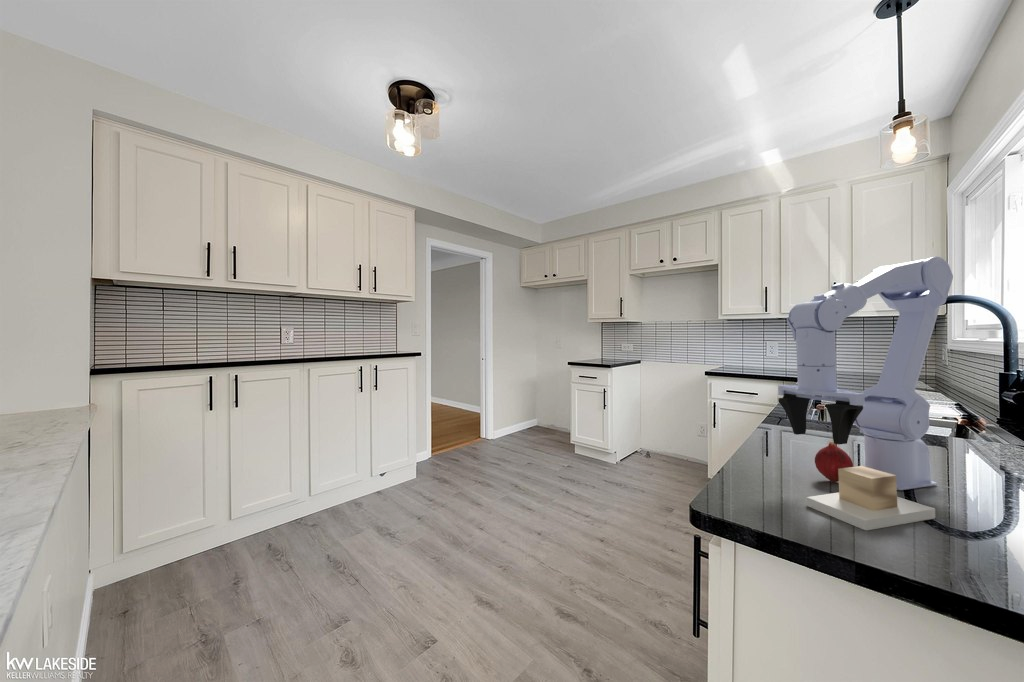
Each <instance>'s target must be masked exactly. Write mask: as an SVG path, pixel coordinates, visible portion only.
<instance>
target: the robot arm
mask: <svg viewBox="0 0 1024 682" xmlns="http://www.w3.org/2000/svg"><path fill="white" fill-rule="evenodd" d="M953 279H954V274H953V271H952V270H951V267H950V264H949V263H948V261H946V260H945V259H944V258H942V257H941V256H931V257H929V258H926V259H925V258H924V259H918V260H914V261H908V262H902V263H897V264H896V263H895V264H891V265H890V264H889V265H881V266H879V267H877V268H874V269H872V270H871V271H870V273H869V274H868V275H866V276H865V277H863V278H861V279H860V280H859V281H857V282H855V283H843V282H840V283H835V284H833V285H831V290H828V291H826V292H824V293H820V294H816V295H814V296H813V299H811V300H810V301H807V302H806V301H805V302H799V303H797V304H794V306H793V307H792V308H791V309H790V311H789V313H788V316H787V317H786V321H787V326H788V327H789V329H790V330H791V332H792V339H793V341H794V342H795V344H796V346H795V347H796V349H795V350H796V369H797V371H796V373H797V385H790V384H783V385H777V392H778V393H777V394H778V395H779V396H782V397H778V398H777V399H778V403H779V404H780V406H781V407H782V408H783V410H784V412H785V413H786V416H787V418H788V420H789V423H790V426H791V429H792V431H793V434H794V435H797V436H798V435H805V434H806V431H807V413H808V408H809V404H810V400H819V401H824V402H825V401H826V402H834V403H825V408H826V410H827V412H828V416H829V418H830V422H831V430H832V431H831V432H832V433H831V434H832V440H833V442H834V444H836V445H846V444H848V441H849V437H850V433H851V430H852V428H853V425H855V426H856V427H857V428H858V429H859V433H861V434H863V438H864V439H863V440H864V441H863V443H864V444H863V445H864V446H863V447H864V463H865V465H864V467H867V468H871V469H875V470H878V471H882V472H886V473H889V474H893V475H896V483H897V491H904V490H905V491H906V490H911V489H918V488H925V487H926V488H927V487H932V486H937V482H936V481H933V480H931V462H930V460H931V458H930V456H931V455H930V450H929V447H928V445H927V444H926V443H925V441H924V440H923V439H921V438H923V436H925V435H926V433H928V431H929V430H930V429H929V428H930V421H931V420H930V408H931V405H930V403H929V402H928V400H926V399H925V398H924V397H923V396H922V395H920V394H919V393H918V392H916V389H917V385H918V381H919V378H920V375H921V373H922V372H921V371H922V368H923V365H924V362H925V358H926V354H927V351H928V348H929V346H930V345H929V344H930V341H931V338H932V334H933V333H934V328H935V325H936V321H937V318H938V315H939V311H940V307H941V306H943V305H944V304H946V302H947V300H948V296H949V293H950V290H951V285H952V282H953ZM876 295H879V297H880V299H882V300H883V302H884V303H885V304H886V305H887V307H888V308H889V309H892V310H896V311H898V313H899V314H898V318H897V321H896V325H895V328H894V331H893V334H892V336H891V340H890V344H889V347H888V350H887V353H886V357H885V360H884V362H883V365H882V366H883V367H882V370H881V373H880V375H879V376H880V377H879V379H878V382H877V384H875V385H872V386H869V387H867V388H866V389H864V390H862V391H861V392H855V391H849V390H844V389H838V382H837V381H838V380H837V379H838V376H837V352H836V350H837V349H836V330H837V331H838V330H839V329H840V328H841V327H842V325H843V323H844V320H845V319H846V318H848V317H850V316H851V315H853V314H855V313H857V312H859V311H860V310H862V309H864V308H865V307H866V305H867V302H868V299H871V298H872V297H875V296H876Z"/></svg>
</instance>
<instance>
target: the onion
mask: <svg viewBox="0 0 1024 682" xmlns="http://www.w3.org/2000/svg"><path fill="white" fill-rule="evenodd" d="M814 464H815V467H816V469H817V470H818V472H819V473H820V474H821V475H822V476H824V477H825V478H826V479H828V481H830V482H832V483H837V482H838V483H839V475H838V469H841V468H848V467H854V464H853V460H852V459H851V457H850V456H849V454H848V453H847V452H846V451H845V450H843V449H842V448H841V447H839V446H838V445H837V444H834V441H832V440H830V441H829V442H828V445H827V446H825V447H823V448H821V449H819V450H818V451H817V453H816V454H815V456H814Z"/></svg>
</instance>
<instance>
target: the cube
mask: <svg viewBox="0 0 1024 682" xmlns="http://www.w3.org/2000/svg"><path fill="white" fill-rule="evenodd" d="M838 475H839V481H838V492H839V499H842V500H845V501H848V502H850V503H853V504H856V505H858V506H861V507H864V508H867V509H869V510H872V511H876V510H882V509H888V508H894V507H897V497H898V490H897V483H896V475H893V474H889V473H886V472H882V471H878V470H875V469H871V468H867V467H865V465H864V466H863V465H858V466H853V467H848V468H841V469H838Z"/></svg>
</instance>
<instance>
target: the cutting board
mask: <svg viewBox="0 0 1024 682" xmlns="http://www.w3.org/2000/svg"><path fill="white" fill-rule="evenodd" d="M806 506H807V507H809V508H811V509H813V510H815V511H818V512H820V513H822V514H826V515H828V516H830V517H833V518H835V519H837V520H839V521H841V522H845V523H847V524H849V525H852V526H854V527H856V528H859V529H860V530H863V531H872V530H877V529H882V528H889V527H894V526H900V525H906V524H912V523H917V522H922V521H928V520H933V519H936V508H934V507H931V506H928V505H925V504H921V503H919V502H915V501H913V500H909V499H905V498H902V497H900V496H897V507H894V508H888V509H882V510H876V511H872V510H869V509H867V508H864V507H861V506H858V505H856V504H853V503H850V502H848V501H845V500H842V499H839V491H838V492H833V493H832V492H831V493H826V494H825V493H824V494H819V495H811V496H807V497H806Z"/></svg>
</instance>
